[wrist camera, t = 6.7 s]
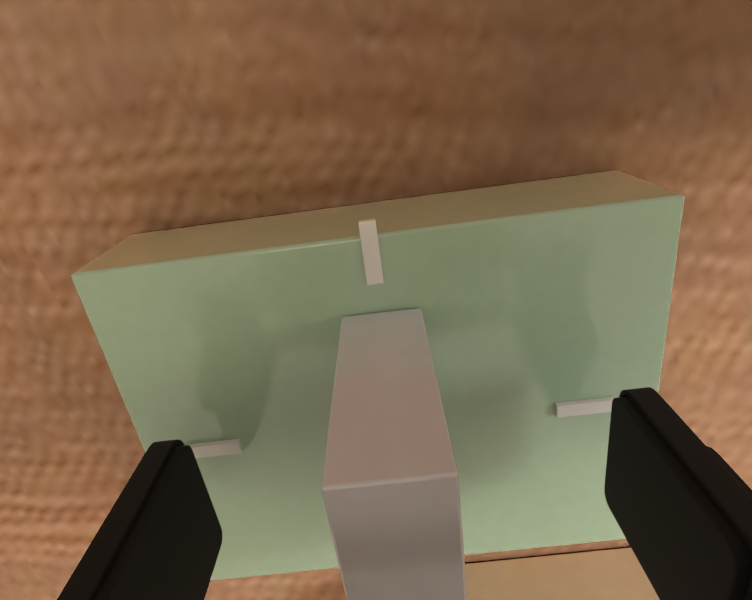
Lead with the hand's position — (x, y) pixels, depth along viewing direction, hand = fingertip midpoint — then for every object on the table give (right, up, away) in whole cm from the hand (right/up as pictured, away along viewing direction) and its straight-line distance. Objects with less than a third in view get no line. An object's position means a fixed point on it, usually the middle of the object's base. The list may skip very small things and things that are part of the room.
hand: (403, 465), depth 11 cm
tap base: (0, +2, +4) cm, 4 cm away
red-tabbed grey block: (0, +1, +1) cm, 1 cm away
